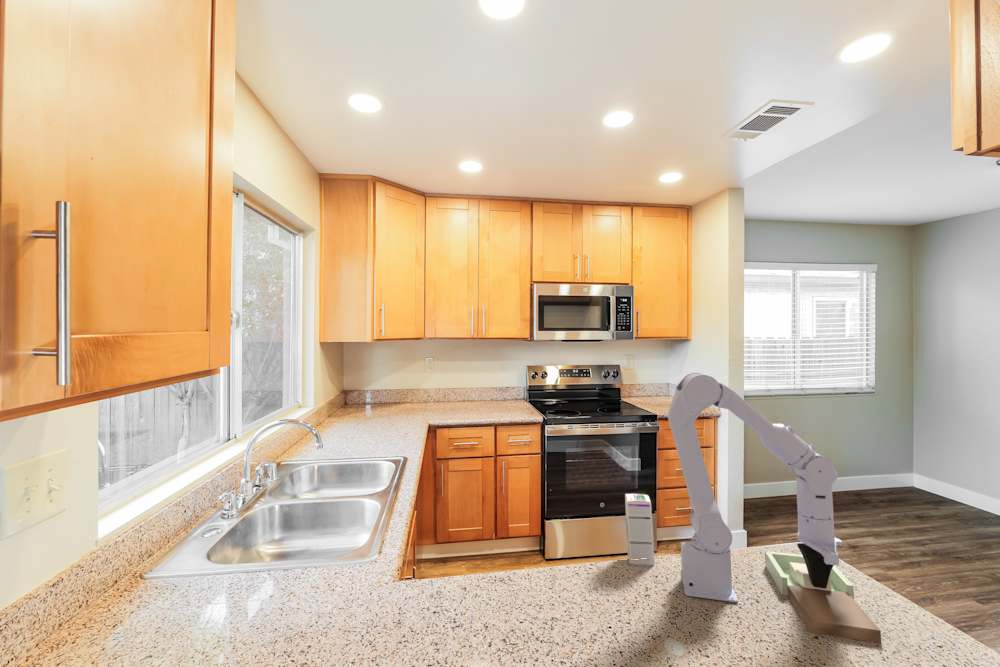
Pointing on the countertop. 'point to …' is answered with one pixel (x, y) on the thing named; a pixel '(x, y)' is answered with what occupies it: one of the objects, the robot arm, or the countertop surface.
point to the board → (833, 614)
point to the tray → (782, 578)
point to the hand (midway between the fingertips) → (818, 586)
